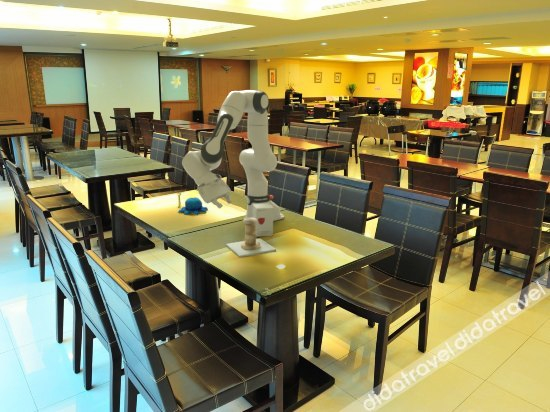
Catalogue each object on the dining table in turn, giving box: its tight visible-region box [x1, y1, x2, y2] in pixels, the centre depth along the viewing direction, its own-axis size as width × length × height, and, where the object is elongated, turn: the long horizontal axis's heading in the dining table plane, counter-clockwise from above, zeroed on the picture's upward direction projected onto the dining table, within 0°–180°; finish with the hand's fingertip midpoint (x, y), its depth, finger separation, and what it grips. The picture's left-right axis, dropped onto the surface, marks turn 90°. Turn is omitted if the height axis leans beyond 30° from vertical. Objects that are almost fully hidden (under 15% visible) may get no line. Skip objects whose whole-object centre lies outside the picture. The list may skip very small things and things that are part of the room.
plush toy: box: [177, 197, 209, 216], centre depth 251 cm, size 17×17×8 cm
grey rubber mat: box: [225, 237, 277, 258], centre depth 195 cm, size 18×16×1 cm
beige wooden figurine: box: [241, 217, 260, 250], centre depth 193 cm, size 9×9×13 cm
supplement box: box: [253, 203, 274, 238], centre depth 213 cm, size 9×9×15 cm
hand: (226, 205), depth 194 cm, fingers open, 8 cm apart
